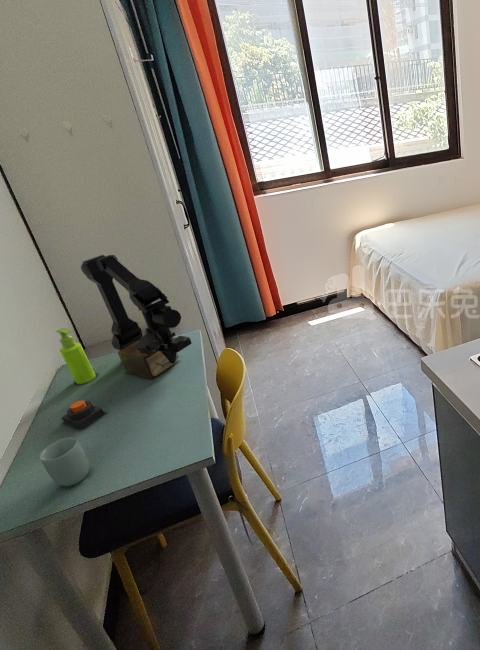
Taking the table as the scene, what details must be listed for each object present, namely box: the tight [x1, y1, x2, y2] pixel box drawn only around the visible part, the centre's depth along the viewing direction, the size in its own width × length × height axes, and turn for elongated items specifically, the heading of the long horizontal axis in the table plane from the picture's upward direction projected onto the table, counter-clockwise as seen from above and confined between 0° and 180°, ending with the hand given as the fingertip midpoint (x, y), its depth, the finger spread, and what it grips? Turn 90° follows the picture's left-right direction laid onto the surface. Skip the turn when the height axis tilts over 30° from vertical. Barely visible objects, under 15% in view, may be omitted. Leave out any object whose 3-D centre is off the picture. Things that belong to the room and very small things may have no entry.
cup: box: [38, 436, 90, 487], centre depth 109 cm, size 8×8×10 cm
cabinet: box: [116, 340, 178, 380], centre depth 155 cm, size 14×11×9 cm
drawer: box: [146, 351, 180, 377], centre depth 153 cm, size 17×9×7 cm, turn 65°
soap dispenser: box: [56, 327, 97, 385], centre depth 150 cm, size 6×7×20 cm
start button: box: [69, 399, 87, 413], centre depth 132 cm, size 4×4×2 cm
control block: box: [60, 400, 106, 430], centre depth 133 cm, size 9×7×4 cm
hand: (173, 363), depth 149 cm, fingers closed
